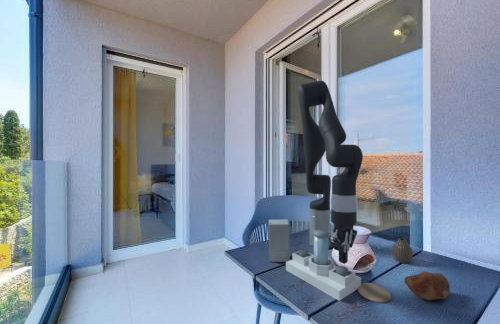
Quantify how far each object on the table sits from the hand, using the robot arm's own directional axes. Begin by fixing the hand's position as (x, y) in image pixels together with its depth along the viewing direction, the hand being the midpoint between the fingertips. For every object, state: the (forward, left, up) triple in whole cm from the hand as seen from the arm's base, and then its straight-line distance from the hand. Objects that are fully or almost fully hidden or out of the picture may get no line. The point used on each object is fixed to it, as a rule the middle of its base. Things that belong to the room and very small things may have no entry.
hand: (343, 262), depth 72 cm
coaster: (-6, +7, -9) cm, 12 cm away
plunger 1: (0, -16, -5) cm, 17 cm away
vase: (-37, +3, -9) cm, 38 cm away
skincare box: (+2, -27, -9) cm, 29 cm away
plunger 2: (0, 0, -5) cm, 5 cm away
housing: (0, -8, -9) cm, 12 cm away
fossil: (-18, +17, -9) cm, 26 cm away
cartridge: (0, -8, -6) cm, 10 cm away
